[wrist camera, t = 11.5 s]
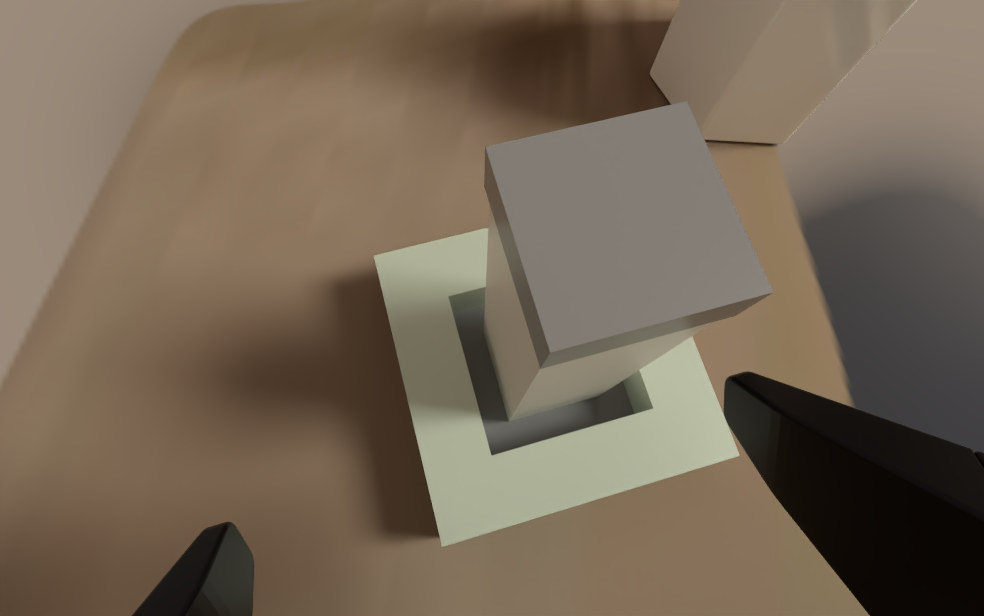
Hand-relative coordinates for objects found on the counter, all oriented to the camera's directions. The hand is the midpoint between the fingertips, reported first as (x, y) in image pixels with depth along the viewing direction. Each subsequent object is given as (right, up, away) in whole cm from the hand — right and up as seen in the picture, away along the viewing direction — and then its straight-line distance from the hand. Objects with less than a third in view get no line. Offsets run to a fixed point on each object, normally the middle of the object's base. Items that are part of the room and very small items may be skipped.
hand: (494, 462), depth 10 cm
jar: (+13, +15, +19) cm, 28 cm away
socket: (+2, 0, +14) cm, 14 cm away
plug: (+2, 0, +14) cm, 14 cm away
